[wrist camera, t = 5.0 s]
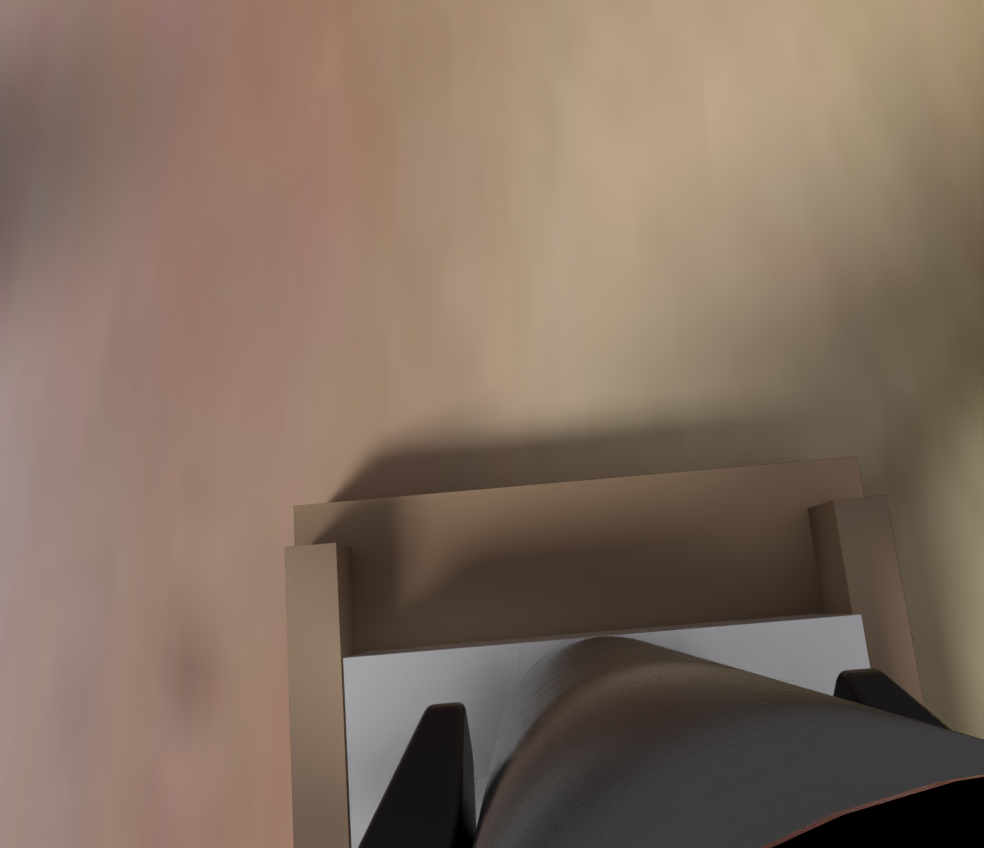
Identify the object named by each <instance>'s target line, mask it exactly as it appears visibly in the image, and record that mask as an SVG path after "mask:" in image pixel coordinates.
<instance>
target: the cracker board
mask: <svg viewBox="0 0 984 848" xmlns="http://www.w3.org/2000/svg"><path fill="white" fill-rule="evenodd" d="M294 535H295V546H292V547H285V571H286V604H287V638H288V671H289V704H290V737H291V770H292V804H293V837H294V848H351V826H350V803H349V780H348V757H347V734H346V711H345V688H344V665H343V658H345V657H349V656H352V655H356V654H359V653H363V652H366V651H374V650H386V649H398V648H410V647H422V646H433V645H445V644H457V643H469V642H481V641H493V640H505V639H517V638H529V637H541V636H552V635H564V634H576V633H588V632H600V631H612V630H624V629H636V628H648V627H660V626H671V625H683V624H695V623H707V622H719V621H731V620H743V619H755V618H767V617H779V616H790V615H802V614H814V613H816V614H859V615H861V617H862V623H863V629H864V634H865V640H866V646H867V652H868V658H869V664H870V668H875V669H878V670H881V671H882V672H884V673H885V674H887V675H888V676H889V677H890V678H891V679H893V680H894V681H895V682H896V683H897V684H898V685H900V686H901V687H902V688H903V689H904V690H906V691H907V692H908V693H909V694H910V695H911V696H913V697H914V698H915V699H916V700H917V701H918V702H920V703H921V704H922V705H923V706H924V702H923V697H922V691H921V686H920V680H919V675H918V669H917V664H916V658H915V653H914V648H913V642H912V637H911V631H910V626H909V620H908V615H907V609H906V604H905V598H904V593H903V588H902V582H901V577H900V571H899V566H898V560H897V555H896V549H895V544H894V538H893V533H892V528H891V522H890V517H889V511H888V506H887V500H886V495H880V496H869V497H864V494H863V488H862V482H861V477H860V471H859V465H858V460H857V456H856V457H845V458H833V459H822V460H810V461H799V462H787V463H776V464H765V465H753V466H742V467H730V468H719V469H708V470H696V471H685V472H673V473H662V474H651V475H639V476H628V477H616V478H605V479H593V480H582V481H571V482H559V483H548V484H536V485H525V486H514V487H502V488H491V489H479V490H468V491H456V492H445V493H434V494H422V495H411V496H399V497H388V498H377V499H365V500H354V501H342V502H331V503H319V504H308V505H297V506H294Z"/></svg>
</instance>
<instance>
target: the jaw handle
mask: <svg viewBox="0 0 984 848" xmlns="http://www.w3.org/2000/svg"><path fill="white" fill-rule="evenodd" d="M343 665H344V688H345V711H346V734H347V757H348V780H349V803H350V826H351V848H358V846H359V844H360V842H361V840H362V838H363V836H364V834H365V832H366V830H367V828H368V825H369V823H370V821H371V819H372V817H373V815H374V813H375V811H376V809H377V807H378V805H379V803H380V801H381V799H382V797H383V795H384V793H385V791H386V789H387V787H388V784H389V782H390V780H391V778H392V776H393V774H394V772H395V770H396V768H397V766H398V764H399V762H400V760H401V758H402V756H403V754H404V752H405V750H406V748H407V745H408V743H409V741H410V739H411V737H412V735H413V733H414V731H415V729H416V727H417V725H418V723H419V721H420V719H421V717H422V715H423V713H424V711H425V710H426V708H427V707H428V706H430V705H432V704H441V703H453V702H459V703H462V704H464V706H465V708H466V713H467V719H468V726H469V732H470V738H471V745H472V752H473V763H474V782H475V805H476V832H475V837H474V842H473V846H472V848H984V740H983V739H979V738H976V737H972V736H969V735H965V734H962V733H959V732H955V731H952V730H948V729H945V728H941V727H938V726H934V725H931V724H928V723H924V722H921V721H917V720H914V719H910V718H907V717H903V716H900V715H897V714H893V713H890V712H886V711H883V710H879V709H876V708H872V707H869V706H865V705H862V704H859V703H855V702H852V701H848V700H845V699H841V698H838V697H834V696H833V694H834V689H835V684H836V679H837V677H838V675H839V674H840V673H841V672H842V671H845V670H853V669H866V668H870V664H869V658H868V652H867V646H866V640H865V634H864V629H863V623H862V617H861V615H859V614H816V613H814V614H802V615H790V616H779V617H767V618H755V619H743V620H731V621H719V622H707V623H695V624H683V625H671V626H660V627H648V628H636V629H624V630H612V631H600V632H588V633H576V634H564V635H552V636H541V637H529V638H517V639H505V640H493V641H481V642H469V643H457V644H445V645H433V646H422V647H410V648H398V649H386V650H374V651H366V652H363V653H359V654H356V655H352V656H349V657H345V658H343Z"/></svg>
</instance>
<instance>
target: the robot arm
mask: <svg viewBox="0 0 984 848" xmlns="http://www.w3.org/2000/svg"><path fill="white" fill-rule="evenodd" d="M833 696H834V697H838V698H841V699H845V700H848V701H852V702H855V703H859V704H862V705H865V706H869V707H872V708H876V709H879V710H883V711H886V712H890V713H893V714H897V715H900V716H903V717H907V718H910V719H914V720H917V721H921V722H924V723H928V724H931V725H934V726H938V727H941V728H945V729H948V730H951V729H950V728H949V727H948V726H947V725H946V724H944V723H943V722H942V721H941V720H940V719H939V718H937V717H936V716H935V715H934V714H933V713H931V712H930V711H929V710H928V709H927V708H926V707H924V706H923V705H922V704H921V703H920V702H918V701H917V700H916V699H915V698H914V697H913V696H911V695H910V694H909V693H908V692H907V691H906V690H904V689H903V688H902V687H901V686H900V685H898V684H897V683H896V682H895V681H894V680H893V679H891V678H890V677H889V676H888V675H887V674H885V673H884V672H882V671H881V670H878V669H875V668H866V669H853V670H845V671H842V672H841V673H840V674H839V675H838V677H837V679H836V684H835V689H834V694H833ZM952 731H953V730H952ZM475 832H476V805H475V782H474V763H473V752H472V745H471V738H470V732H469V726H468V719H467V713H466V708H465V706H464V704H462V703H459V702H453V703H441V704H432V705H430V706H428V707H427V708H426V710H425V711H424V713H423V715H422V717H421V719H420V721H419V723H418V725H417V727H416V729H415V731H414V733H413V735H412V737H411V739H410V741H409V743H408V745H407V748H406V750H405V752H404V754H403V756H402V758H401V760H400V762H399V764H398V766H397V768H396V770H395V772H394V774H393V776H392V778H391V780H390V782H389V784H388V787H387V789H386V791H385V793H384V795H383V797H382V799H381V801H380V803H379V805H378V807H377V809H376V811H375V813H374V815H373V817H372V819H371V821H370V823H369V825H368V828H367V830H366V832H365V834H364V836H363V838H362V840H361V842H360V844H359V846H358V848H472V846H473V842H474V837H475Z"/></svg>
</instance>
